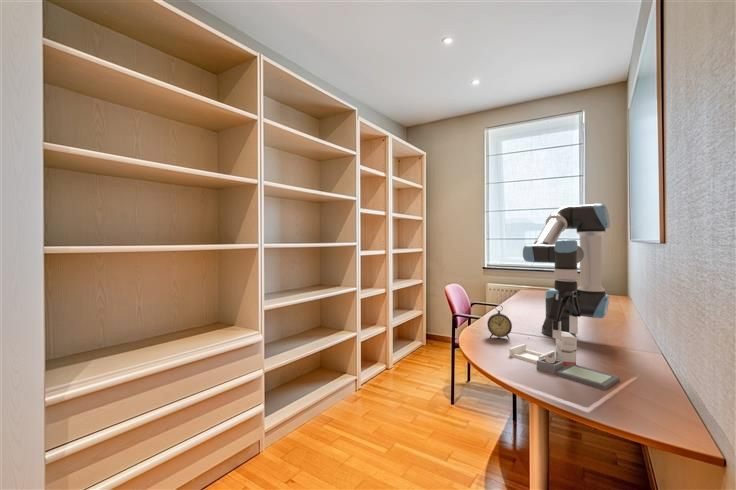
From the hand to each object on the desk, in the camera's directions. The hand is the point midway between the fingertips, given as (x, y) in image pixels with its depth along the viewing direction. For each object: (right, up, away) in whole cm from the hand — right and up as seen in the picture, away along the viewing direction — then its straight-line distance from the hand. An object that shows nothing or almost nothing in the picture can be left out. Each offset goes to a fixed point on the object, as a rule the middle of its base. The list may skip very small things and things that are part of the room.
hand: (565, 335), depth 130 cm
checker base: (-1, -11, -14) cm, 18 cm away
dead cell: (-9, -10, -7) cm, 16 cm away
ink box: (0, -11, 0) cm, 11 cm away
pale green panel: (-1, -10, -14) cm, 17 cm away
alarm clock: (-11, -11, +37) cm, 40 cm away
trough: (-10, -11, +6) cm, 16 cm away
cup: (-9, -11, -7) cm, 16 cm away
